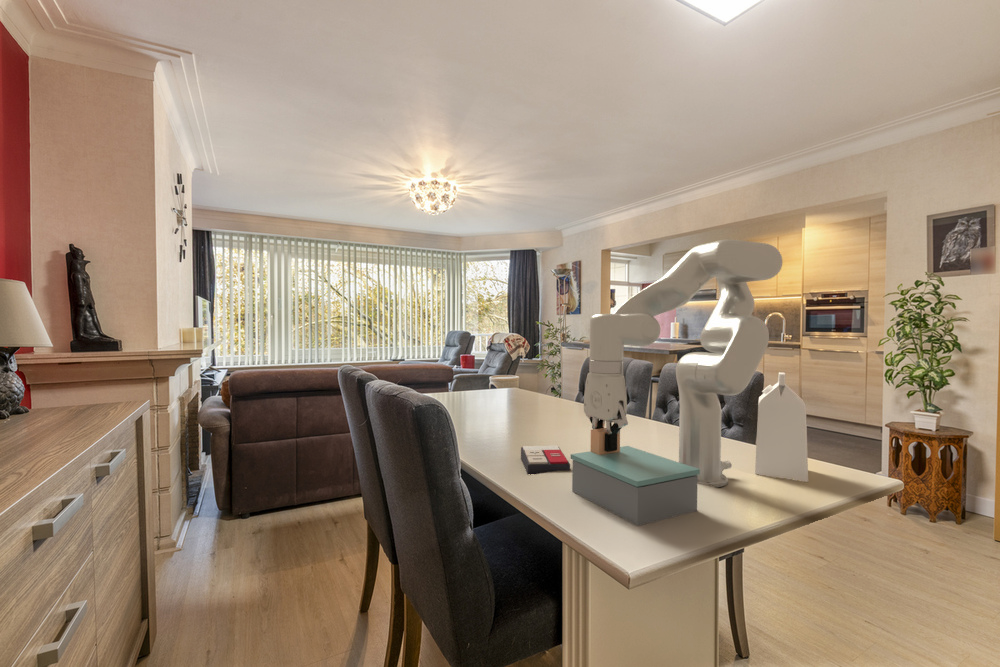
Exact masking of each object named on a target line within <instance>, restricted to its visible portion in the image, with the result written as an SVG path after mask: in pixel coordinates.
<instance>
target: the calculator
mask: <svg viewBox="0 0 1000 667" xmlns="http://www.w3.org/2000/svg"><path fill="white" fill-rule="evenodd" d="M520 460H521V462H523V463H522V464H523V466H524V469H526V470H525V471H526V472H525V473H526V474H527V475H528V474H530V475H529V476H532V475H531V474H534V475H539V474H544V473H552V472H557V471H558V472H560V471H571V463H570V462H569V460H568V459H567V457H566V456H565V454H564V452H563V451H562V450H561V448H560V446H558V445H531V446H530V445H528V446H527V445H523V446H521V447H520Z"/></svg>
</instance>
